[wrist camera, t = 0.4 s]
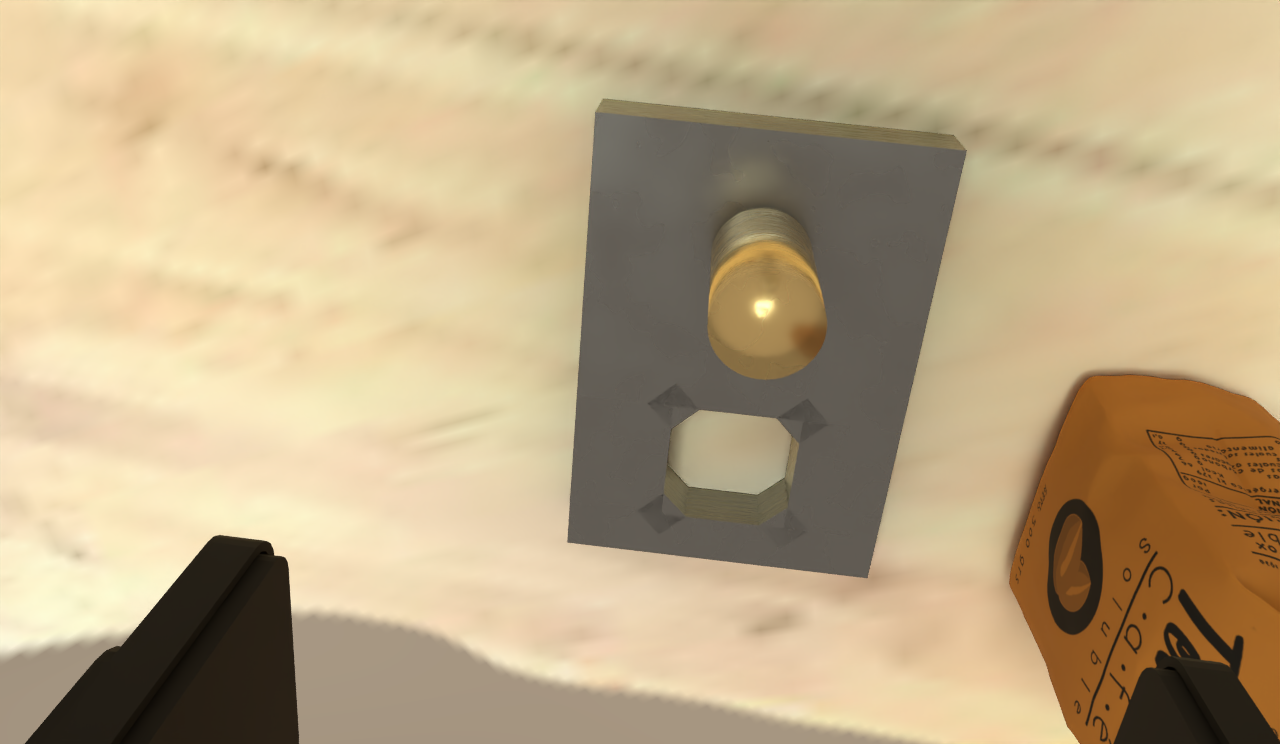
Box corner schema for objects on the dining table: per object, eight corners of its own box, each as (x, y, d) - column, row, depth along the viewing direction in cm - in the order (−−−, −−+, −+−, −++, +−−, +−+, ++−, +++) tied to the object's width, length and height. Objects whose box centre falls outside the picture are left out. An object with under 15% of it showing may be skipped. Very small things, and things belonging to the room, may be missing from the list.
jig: (603, 98, 40) (595, 111, 38) (953, 135, 40) (966, 150, 38) (574, 512, 49) (567, 542, 47) (861, 545, 49) (867, 578, 47)
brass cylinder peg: (717, 202, 39) (714, 264, 33) (819, 213, 39) (836, 277, 33) (705, 297, 41) (701, 372, 35) (803, 307, 41) (816, 385, 35)
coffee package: (966, 565, 49) (1123, 1028, 29) (1074, 339, 43) (1358, 725, 24) (1161, 613, 49) (1447, 1104, 30) (1294, 396, 44) (1753, 822, 24)
